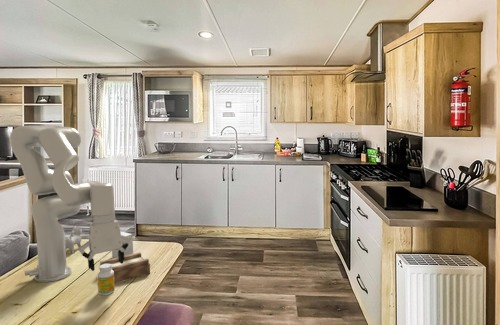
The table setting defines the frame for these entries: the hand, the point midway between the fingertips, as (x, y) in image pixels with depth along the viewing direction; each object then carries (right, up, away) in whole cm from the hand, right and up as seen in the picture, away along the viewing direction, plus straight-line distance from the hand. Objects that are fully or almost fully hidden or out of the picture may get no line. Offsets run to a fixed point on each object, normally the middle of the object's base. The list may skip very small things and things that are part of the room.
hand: (107, 265), depth 120 cm
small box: (-7, -6, +34) cm, 35 cm away
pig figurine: (-34, -6, +43) cm, 55 cm away
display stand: (0, -8, +16) cm, 18 cm away
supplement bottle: (-1, -10, +1) cm, 10 cm away
